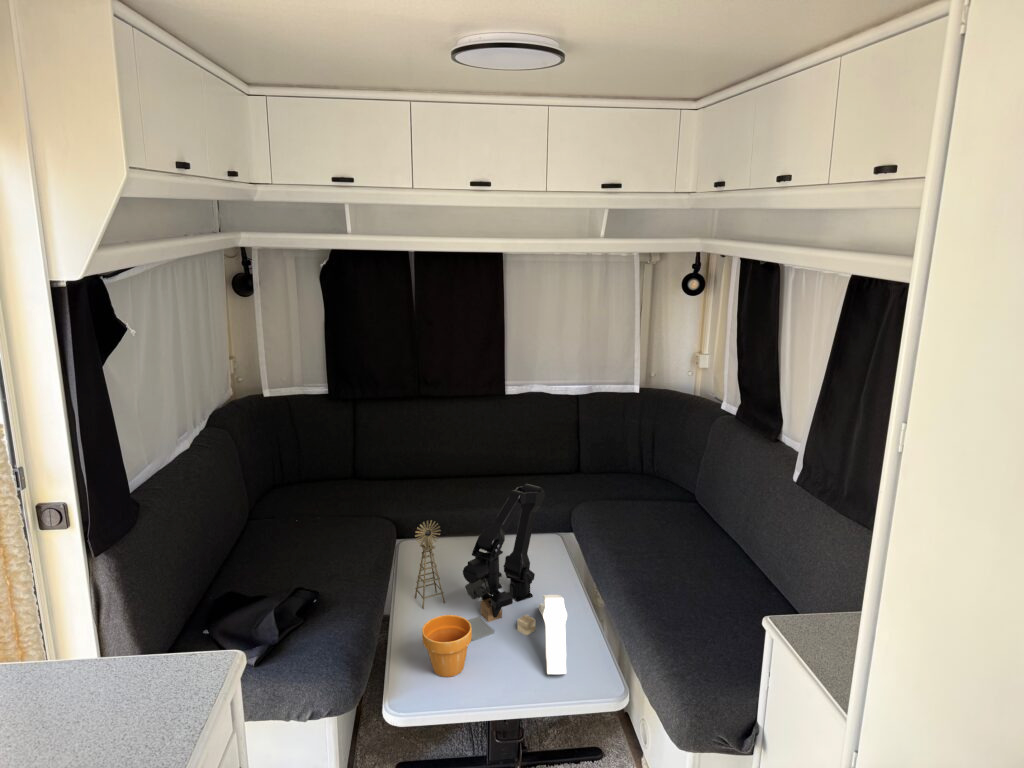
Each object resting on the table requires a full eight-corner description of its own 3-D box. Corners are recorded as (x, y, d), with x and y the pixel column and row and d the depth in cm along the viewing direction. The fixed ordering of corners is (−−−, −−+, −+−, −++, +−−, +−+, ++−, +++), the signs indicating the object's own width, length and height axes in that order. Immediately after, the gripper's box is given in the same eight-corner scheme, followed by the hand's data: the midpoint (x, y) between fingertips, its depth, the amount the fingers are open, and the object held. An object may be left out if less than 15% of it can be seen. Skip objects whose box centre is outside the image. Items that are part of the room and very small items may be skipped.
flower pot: (415, 677, 198) (413, 637, 195) (437, 649, 211) (435, 610, 208) (460, 688, 193) (459, 646, 190) (480, 658, 206) (479, 619, 203)
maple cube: (526, 625, 223) (526, 614, 222) (535, 630, 220) (535, 619, 219) (517, 630, 220) (517, 619, 219) (526, 635, 218) (526, 624, 217)
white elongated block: (560, 657, 228) (558, 591, 233) (569, 674, 195) (566, 597, 200) (539, 657, 228) (538, 591, 232) (544, 674, 195) (542, 598, 200)
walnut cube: (494, 610, 232) (493, 597, 231) (501, 617, 228) (501, 603, 226) (480, 614, 229) (480, 601, 228) (488, 622, 225) (488, 608, 224)
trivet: (479, 618, 227) (479, 616, 227) (494, 633, 219) (494, 631, 219) (457, 625, 223) (457, 623, 223) (471, 641, 215) (471, 638, 215)
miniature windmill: (421, 609, 233) (417, 526, 226) (413, 597, 240) (408, 517, 233) (446, 602, 237) (443, 521, 230) (437, 591, 244) (434, 512, 237)
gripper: (455, 564, 228) (456, 607, 232) (482, 589, 213) (483, 634, 216) (484, 556, 234) (485, 598, 238) (513, 579, 218) (513, 624, 222)
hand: (491, 613), depth 228 cm, fingers closed on walnut cube, 5 cm apart
